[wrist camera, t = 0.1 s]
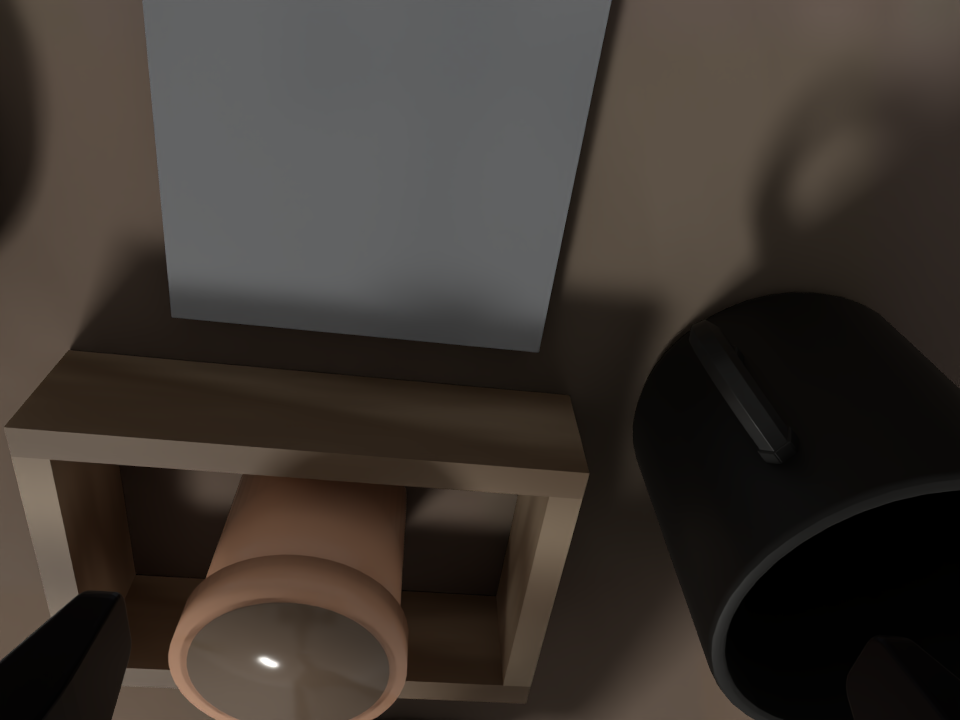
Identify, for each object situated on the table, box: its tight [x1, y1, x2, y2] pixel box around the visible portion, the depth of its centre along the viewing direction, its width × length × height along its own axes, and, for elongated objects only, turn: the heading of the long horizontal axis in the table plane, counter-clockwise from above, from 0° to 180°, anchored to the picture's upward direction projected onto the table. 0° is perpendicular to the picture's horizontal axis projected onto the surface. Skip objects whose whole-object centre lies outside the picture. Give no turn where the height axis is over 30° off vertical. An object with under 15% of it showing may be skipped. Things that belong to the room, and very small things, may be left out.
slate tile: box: [142, 0, 612, 353], centre depth 20 cm, size 11×11×1 cm
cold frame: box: [4, 350, 590, 704], centre depth 25 cm, size 11×16×4 cm
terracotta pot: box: [168, 474, 409, 720], centre depth 24 cm, size 7×7×7 cm
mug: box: [633, 292, 960, 720], centre depth 21 cm, size 9×12×9 cm
